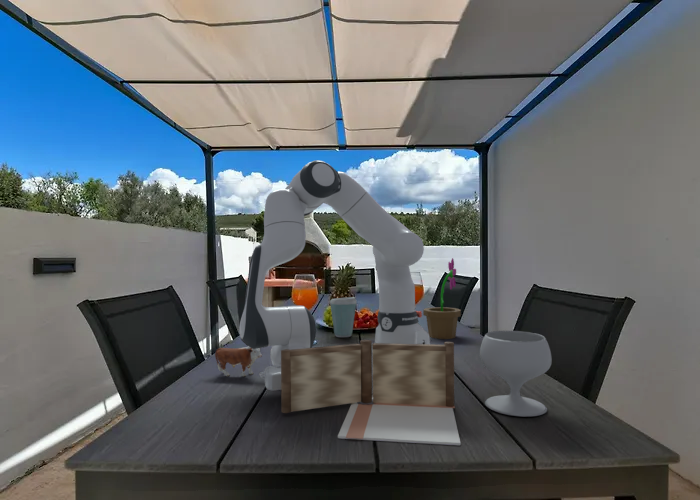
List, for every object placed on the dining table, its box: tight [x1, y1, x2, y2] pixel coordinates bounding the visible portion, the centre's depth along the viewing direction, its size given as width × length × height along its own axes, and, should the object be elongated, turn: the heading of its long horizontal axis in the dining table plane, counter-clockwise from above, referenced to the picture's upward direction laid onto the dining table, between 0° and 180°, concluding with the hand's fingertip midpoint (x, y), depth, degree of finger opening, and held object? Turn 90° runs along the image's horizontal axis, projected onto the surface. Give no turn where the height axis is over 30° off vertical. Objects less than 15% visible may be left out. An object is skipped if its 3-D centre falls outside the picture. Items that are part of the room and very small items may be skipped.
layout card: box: [337, 396, 461, 446], centre depth 85 cm, size 22×22×1 cm
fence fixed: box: [359, 339, 455, 410], centre depth 92 cm, size 20×2×14 cm, turn 81°
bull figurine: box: [214, 346, 263, 377], centre depth 116 cm, size 4×13×8 cm, turn 79°
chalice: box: [479, 330, 552, 418], centre depth 91 cm, size 14×14×15 cm
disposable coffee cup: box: [329, 296, 357, 338], centre depth 169 cm, size 11×11×15 cm
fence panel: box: [280, 343, 361, 414], centre depth 90 cm, size 17×2×12 cm, turn 111°
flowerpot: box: [422, 257, 462, 340], centre depth 167 cm, size 14×14×30 cm
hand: (321, 383), depth 91 cm, fingers closed
